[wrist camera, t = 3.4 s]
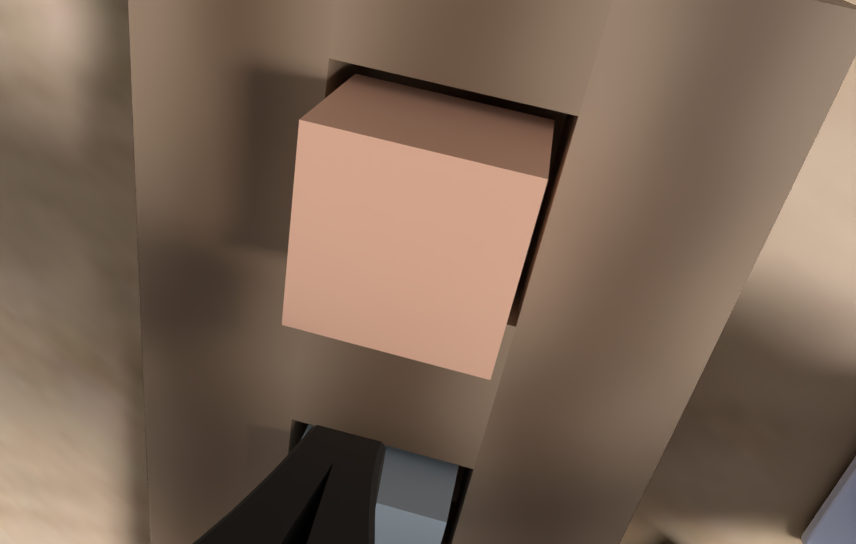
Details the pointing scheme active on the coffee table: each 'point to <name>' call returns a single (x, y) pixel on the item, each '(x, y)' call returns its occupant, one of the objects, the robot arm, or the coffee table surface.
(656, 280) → the board
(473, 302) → the pink cube
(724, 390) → the coffee table surface
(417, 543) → the slate key
